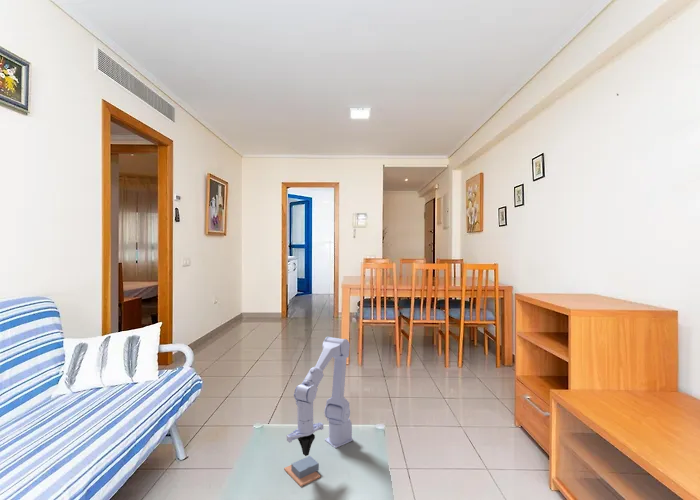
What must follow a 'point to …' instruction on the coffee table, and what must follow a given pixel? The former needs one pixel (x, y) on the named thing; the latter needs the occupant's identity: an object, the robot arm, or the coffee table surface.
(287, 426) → the coffee table surface
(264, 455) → the coffee table surface
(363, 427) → the coffee table surface
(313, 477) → the mat
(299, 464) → the slab
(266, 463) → the coffee table surface
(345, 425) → the robot arm
